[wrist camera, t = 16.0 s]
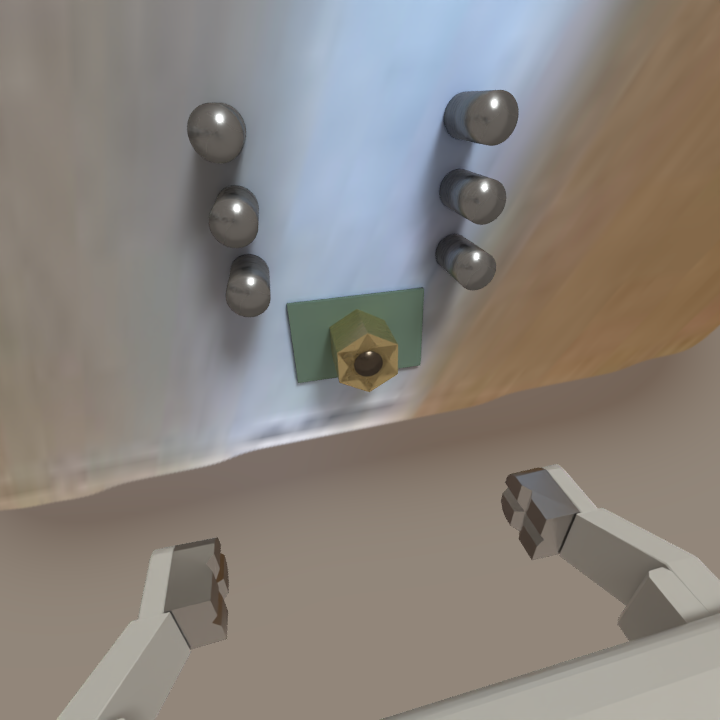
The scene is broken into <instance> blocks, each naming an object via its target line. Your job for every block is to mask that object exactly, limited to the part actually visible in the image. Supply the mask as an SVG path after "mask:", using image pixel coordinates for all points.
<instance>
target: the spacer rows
mask: <svg viewBox="0 0 720 720" xmlns="http://www.w3.org/2000/svg"><path fill="white" fill-rule="evenodd" d="M517 120H518V105H517V102H516V100H515V98H514V97H513V95H512V94H510V93H509V92H507V91H504V90H489V91H468V92H461V93H459V94H457V95H455V96H454V97H453V98H452V99H451V100H450V101H449V103H448V105H447V107H446V109H445V113H444V125H445V128H446V131H447V132H448V134H449V135H450V136H451V137H453V138H455V139H459V140H464V141H469V142H474V143H479V144H484V145H490V146H493V145H498V144H500V143H502V142H504V141H505V140H506V139H507V138H508V137H509V136H510V135H511V134H512V132H513V131H514V129H515V126H516V124H517ZM187 131H188V137H189V140H190V142H191V144H192V146H193V148H194V149H195V151H196V152H197V153H198V154H199V155H200V156H201V157H203V158H204V159H206V160H208V161H210V162H213V163H226V162H229V161H231V160H233V159H234V158H235V157H237V155H238V154H239V153H240V151H241V149H242V146H243V144H244V142H245V138H246V126H245V123H244V120H243V118H242V117H241V115H240V114H239V112H238V111H237V110H236V109H234V108H233V107H232V106H230V105H228V104H225V103H205V104H202V105H200V106H198V107H197V108H196V109H195V110H194V111H193V112H192V113H191V115H190V117H189V120H188V125H187ZM439 196H440V199H441V202H442V203H443V204H444V205H445V206H446V207H447V208H449V209H451V210H452V211H454V212H456V213H458V214H459V215H461V216H463V217H465V218H466V219H468V220H470V221H472V222H473V223H475V224H480V225H483V224H488V223H490V222H492V221H494V220H495V219H496V218H497V217H498V216H499V215H500V214H501V212H502V211H503V209H504V206H505V203H506V192H505V189H504V187H503V185H502V184H501V183H500V182H499V181H497V180H494V179H491V178H488V177H485V176H482V175H479V174H476V173H473V172H471V171H468V170H465V169H456V170H453V171H451V172H449V173H448V174H447V175H446V176H445V177H444V179H443V180H442V182H441V185H440V189H439ZM258 219H259V206H258V202H257V199H256V197H255V196H254V195H253V193H252V192H251V191H249V190H248V189H246V188H244V187H242V186H237V185H233V186H228V187H226V188H224V189H223V190H222V191H221V192H220V193H219V195H218V197H217V199H216V201H215V203H214V205H213V208H212V210H211V212H210V215H209V227H210V230H211V233H212V234H213V236H214V237H215V238H216V239H217V241H219V242H220V243H221V244H223V245H225V246H228V247H231V248H241V247H244V246H247V245H248V244H250V243H251V242H252V241H253V240H254V239H255V237H256V235H257V232H258ZM435 256H436V260H437V262H438V264H439V265H440V266H441V267H442V268H443V269H444V270H446V271H447V272H448V273H449V274H450V275H451V276H452V277H453V278H454V279H455V280H456V281H458V282H459V283H460V284H461V285H462V286H463V287H464V288H466V289H468V290H478V289H481V288H483V287H485V286H486V285H487V284H488V283H489V282H490V281H491V280H492V278H493V277H494V274H495V271H496V263H495V260H494V258H493V257H492V256H491V255H490V254H488V253H487V252H485V251H484V250H482V249H481V248H479V247H478V246H477V245H475V244H474V243H472V242H471V241H469V240H468V239H466V238H465V237H463V236H462V235H459V234H451V235H448V236H446V237H445V238H443V239H442V240H441V241H440V242H439V244H438V246H437V248H436V252H435ZM226 301H227V304H228V306H229V307H230V308H231V310H232V311H234V312H235V313H236V314H238V315H241V316H244V317H255V316H258V315H260V314H262V313H263V312H264V311H265V310H266V309H267V308H268V306H269V304H270V276H269V268H268V266H267V264H266V262H265V261H264V260H263V259H262V258H260V257H258V256H256V255H252V254H245V255H241V256H239V257H238V258H236V259H235V260H234V262H233V263H232V265H231V269H230V275H229V280H228V285H227V290H226Z"/></svg>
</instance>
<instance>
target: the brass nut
mask: <svg viewBox="0 0 720 720" xmlns="http://www.w3.org/2000/svg"><path fill="white" fill-rule="evenodd" d="M329 328H330V339H331V350H332V357H333V361H334V364H335V368H336V372H337V375H338V379H339V383H342V384H345V385H349V386H352V387H355V388H358V389H361V390H364V391H368V392H370V391H372V390H373V389H375V388H377V387H378V386H380V385H381V384H383V383H384V382H386V381H388V380H389V379H391V378H392V377H394V376H395V375H397V374H398V343H397V342H396V340H395V338H394V336H393V335H392V333H391V331H390V329H389V327H388V326H387V324H386V322H385V320H383V319H380V318H378V317H375V316H373V315H371V314H368V313H366V312H363V311H361V310H358V309H356V310H354V311H353V312H351V313H350V314H348V315H347V316H345V317H344V318H342V319H341V320H339V321H338V322H336V323H335V324H333V325H332V326H330V327H329Z"/></svg>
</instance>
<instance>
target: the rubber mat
mask: <svg viewBox="0 0 720 720" xmlns="http://www.w3.org/2000/svg"><path fill="white" fill-rule="evenodd" d="M423 301H424V289H423V288H415V289H407V290H398V291H389V292H381V293H372V294H364V295H355V296H347V297H338V298H329V299H321V300H312V301H304V302H295V303H287V309H288V316H289V323H290V330H291V337H292V344H293V350H294V357H295V364H296V371H297V378H298V383H302V382H308V381H315V380H322V379H329V378H336V377H338V375H337V372H336V368H335V364H334V361H333V357H332V350H331V339H330V328H329V327H330V326H332V325H333V324H335V323H336V322H338V321H339V320H341V319H342V318H344V317H345V316H347V315H348V314H350V313H351V312H353V311H354V310H356V309H358V310H361V311H363V312H366V313H368V314H371V315H373V316H375V317H378V318H380V319H383V320H385V322H386V324H387V326H388V327H389V329H390V331H391V333H392V335H393V336H394V338H395V340H396V342H397V343H398V368H405V367H411V366H418V365H420V361H421V341H422V321H423Z"/></svg>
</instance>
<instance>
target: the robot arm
mask: <svg viewBox="0 0 720 720" xmlns="http://www.w3.org/2000/svg"><path fill="white" fill-rule="evenodd" d="M505 483H506V485H507V486H508V488H507V489H506V490H505V491H504V492H503V494H502V499H501V503H502V510H503V512H504V515H505V517H506V519H507V521H508V522H509V524H510V526H512V527H514V528H515V529H517V530H519V540H520V542H521V544H522V545H523V547H524V548H525V550H526V552H527V553H528V555H529V556H530V558H531V560H535V559H539V558H544V557H549V556H553V555H557V554H560V557H562V558H563V559H564V560H566V561H567V562H568V563H570V564H571V565H572V566H574V567H575V568H576V569H578V570H579V571H580V572H582V573H583V574H584V575H586V576H587V577H588V578H590V579H591V580H592V581H594V582H595V583H597V584H598V585H599V586H600V587H602V588H603V589H604V590H606V591H607V592H609V593H610V594H611V595H613V596H614V597H615V598H617V599H618V600H619V601H621V602H622V603H623V604H625V605H626V607H625V609H624V610H623V612H622V613H621V615H620V617H619V619H618V625H619V627H620V628H621V630H622V631H623V632H624V634H625V636H626V637H627V638H628V640H629V642H626V643H623V644H620V645H616V646H613V647H610V648H607V649H604V650H601V651H597V652H594V653H591V654H588V655H585V656H581V657H578V658H575V659H572V660H569V661H565V662H562V663H559V664H556V665H553V666H550V667H546V668H543V669H540V670H537V671H533V672H530V673H527V674H524V675H521V676H518V677H514V678H511V679H508V680H505V681H502V682H498V683H495V684H492V685H489V686H486V687H482V688H479V689H476V690H473V691H470V692H466V693H463V694H460V695H457V696H454V697H450V698H447V699H444V700H441V701H438V702H435V703H432V704H428V705H425V706H422V707H419V708H415V709H412V710H409V711H406V712H403V713H400V714H396V715H393V716H390V717H387V718H383V719H380V720H720V581H719V579H718V578H716V576H715V575H714V574H713V573H712V572H711V571H710V570H709V569H708V568H707V567H706V566H705V565H704V564H703V563H702V562H701V561H700V560H699V559H698V558H697V557H696V556H694V555H692V554H690V553H688V552H686V551H685V550H683V549H681V548H679V547H677V546H675V545H673V544H671V543H669V542H667V541H665V540H663V539H662V538H660V537H658V536H656V535H654V534H652V533H650V532H648V531H646V530H644V529H642V528H640V527H639V526H637V525H635V524H633V523H631V522H629V521H627V520H625V519H623V518H621V517H619V516H617V515H615V514H614V513H612V512H610V511H608V510H606V509H604V508H597V507H596V506H595V505H594V504H593V502H592V501H591V500H590V499H589V498H588V497H587V496H586V494H585V493H584V492H583V491H582V490H581V488H580V487H579V486H578V485H577V484H576V483H575V482H574V480H573V479H572V478H571V477H570V476H569V475H568V474H567V472H566V471H565V470H564V469H563V468H562V467H561V466H559V465H558V464H555V465H550V466H546V467H542V468H534V469H530V470H526V471H521V472H517V473H513V474H510V475H509V476H508V477H507V478H506V482H505ZM220 552H221V544H220V541H219V539H218V538H212V539H207V540H202V541H196V542H192V543H186V544H181V545H175V546H171V547H166V548H161V549H157V550H154V551H153V553H152V555H151V557H150V561H149V566H148V571H147V576H146V580H145V585H144V590H143V595H142V600H141V605H140V610H139V615H138V619H137V620H134V621H131V622H130V623H129V625H128V626H127V627H126V628H125V630H124V631H123V632H122V634H121V635H120V636H119V638H118V639H117V640H116V642H115V643H114V644H113V645H112V647H111V648H110V649H109V651H108V652H107V653H106V655H105V656H104V657H103V659H102V660H101V661H100V663H99V664H98V665H97V667H96V668H95V669H94V671H93V672H92V673H91V675H90V676H89V677H88V678H87V680H86V681H85V683H84V684H83V685H82V686H81V688H80V689H79V690H78V692H77V693H76V694H75V696H74V697H73V698H72V700H71V701H70V702H69V704H68V705H67V706H66V708H65V709H64V710H63V712H62V713H61V714H60V716H59V717H58V718H57V720H155V719H156V717H157V715H158V713H159V712H160V710H161V708H162V706H163V704H164V702H165V700H166V698H167V697H168V695H169V693H170V691H171V689H172V687H173V685H174V683H175V681H176V679H177V678H178V676H179V674H180V672H181V670H182V668H183V666H184V664H185V662H186V661H187V659H188V657H189V655H190V653H191V651H190V650H191V649H194V648H198V647H201V646H205V645H208V644H211V643H215V642H219V641H222V640H225V639H227V622H228V610H227V607H226V604H225V602H224V599H225V597H226V596H227V594H228V593H229V592H228V591H229V589H228V587H229V579H228V567H227V562H226V558H225V555H223V554H221V553H220Z"/></svg>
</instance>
